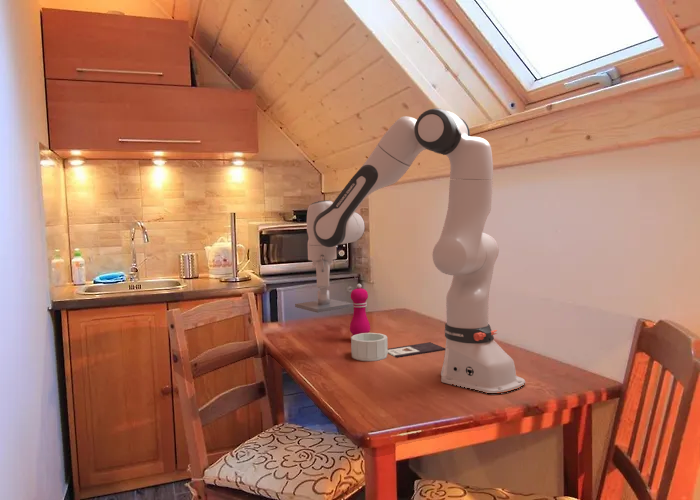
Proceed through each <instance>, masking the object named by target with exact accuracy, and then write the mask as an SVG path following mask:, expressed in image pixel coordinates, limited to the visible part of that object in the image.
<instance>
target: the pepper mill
mask: <svg viewBox="0 0 700 500" xmlns="http://www.w3.org/2000/svg"><path fill="white" fill-rule="evenodd" d="M362 287H363V286H362V284H361V283H358V284H357V285H356V288H355V289H353V290H351V292H350V299H351V300H352V303H353V307H352V308H353V313H352V314H353V315H352V319H351V320H350V324H349V332H350V333H351V334H352V335H351V336H350V338H351V337H352V336H353V335H356V334H361V333H371V332H370V331H371V325H370V324H371V323H370V322H369V319H368V317H367V312H366V308H367V306H368V305H367V300H368V299H369V292H368V291H367V290H366V289H365V288H362Z"/></svg>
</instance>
